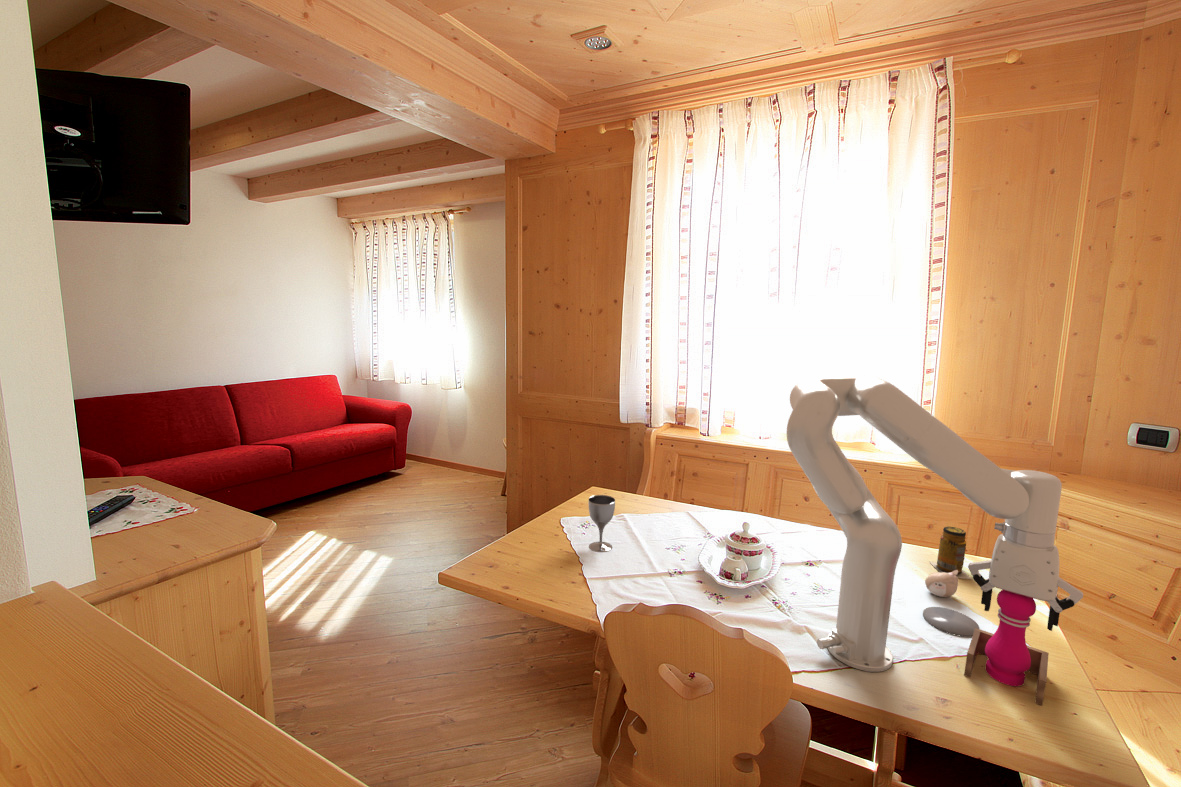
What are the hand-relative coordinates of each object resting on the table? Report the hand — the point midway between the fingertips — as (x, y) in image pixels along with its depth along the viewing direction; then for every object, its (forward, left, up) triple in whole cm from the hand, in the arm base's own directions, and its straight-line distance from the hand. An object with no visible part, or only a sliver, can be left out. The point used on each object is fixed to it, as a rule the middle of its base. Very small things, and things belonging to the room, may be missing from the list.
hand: (1017, 617), depth 103 cm
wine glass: (-61, +76, -13) cm, 98 cm away
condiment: (+30, +36, -13) cm, 49 cm away
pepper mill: (-1, 0, -13) cm, 13 cm away
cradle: (-1, 0, -13) cm, 13 cm away
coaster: (+6, +17, -13) cm, 23 cm away
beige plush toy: (+15, +27, -13) cm, 34 cm away
